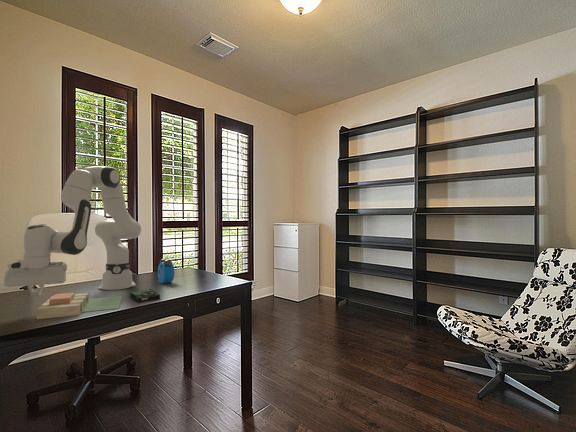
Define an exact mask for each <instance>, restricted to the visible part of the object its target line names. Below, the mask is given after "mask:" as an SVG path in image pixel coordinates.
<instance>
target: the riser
mask: <svg viewBox="0 0 576 432" xmlns="http://www.w3.org/2000/svg"><path fill="white" fill-rule="evenodd" d="M53 296H54V295H52V296H51V297H50V298H49V299H48V300H46V301H45V302H44V303H42V304H41V305H40V306H39V307H38V308H36V320H44V319H51V318H53V319H55V318H62V317H63V318H64V317H73V316H80V315H81V314H82V313H81V311H82V309H83V308H84V307H85V305H86V304H87V302H88V301H89V299H90V298H89V297H90V293H89V292H85V293H84V292H83V293H75V297H74V298H73V300H72V301H71V302H70V303H60V304H49V300H50V299H51V298H52V297H53Z"/></svg>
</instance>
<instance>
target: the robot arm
mask: <svg viewBox="0 0 576 432" xmlns="http://www.w3.org/2000/svg"><path fill="white" fill-rule="evenodd" d="M93 188H99V189H100V195H101V201H102V208H103V211H104V213H105V214H107V215H108V216H110V217H111V218H112V219H107V220H102V221H99V222H97V223H96V225H95V227H94V233H95V235H96V236H97V237H98V238H99V239H101V241H102V242H103V244H104V247H105V250H106V264H105V271H104V272H103V273H102V277H101V278H102V279H101V281H102V282H101V285H100V286H98V287H97V290H98V289H99V290H107V291H115V290H124V289H129V288H131V287H136V285H137V284H136V283H135V282H134V281H133V272H132V271H131V270H130V266H131V265H130V262H129V261H130V259H129V255H130V253H129V252H130V251H129V248H128V247H127V246H126V245H124V244H123V243H122V240H132V239H137V238H138V237H140V235H141V232H142V226H141V224H140V222H138V221H137V220H135V219H134V218H133V217H132V216H131V214H130V213H129V211H128V208H127V204H126V200H125V193H124V188H123V186H122V184H121V174H120V172H119V171H118V169H117V168H115V167H113V166H102V165H95V166H84V167H80V168H78V169H75V170H73V171H72V172H71V173H70V175H69V176H68V178H67V179H66V182H65V183H64V186H63V189H62V191H61V194H60V199H61V202H62V204H64V206H66V207H68V208H69V209H71V210H73V211H74V218H73V222H72V226H71V227H72V228H71V229H70V231H67V232H66V231H64V232H63V231H59V230H56V229H55V228H52V227H51V226H50V225H49V224H46V223H45V224H44V223H43V224H40V223H39V224H33V225H30V226H28V227H27V228H26V230H25V232H24V237H23V249H24V253H23V258H22V259H20V260H17V261H13V262H11V263H8V264H7V271H6V272H5V274H4V279H3V285H4V286H5V287H6V288H7V287H9V288H10V287H23V286H24V287H25V286H27V289H28V291H29V292H30V296H31V297H35V296H37V297H38V296H41V295H42V290H43V289H44V288H45V285H57V284H58V285H59V284H60V285H61V284H64V283H65V282H66V281H67V270H68V264H67V263H66V262H63V261H59V262H58V261H51V256H52V254H51V253H53V254H64V255H65V254H66V255H70V256H71V255H72V256H76V255H80V254H81V253H82V252H83V251H84V250H85V249H86V247H87V244H88V237H87V236H88V229H89V225H90V218H91V213H92V205H91V202H90V197H91V194H92V192H93ZM34 286H38V288H39V289H38V290H34Z"/></svg>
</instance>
